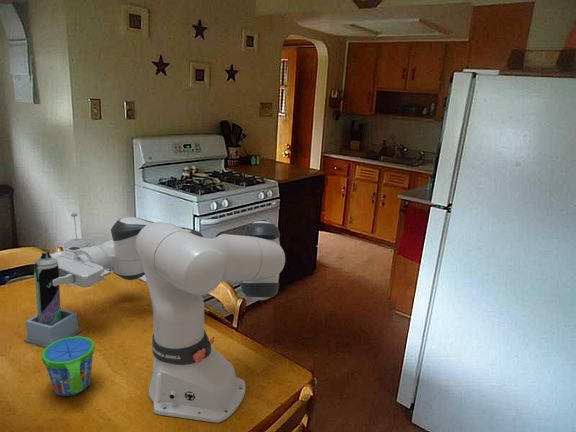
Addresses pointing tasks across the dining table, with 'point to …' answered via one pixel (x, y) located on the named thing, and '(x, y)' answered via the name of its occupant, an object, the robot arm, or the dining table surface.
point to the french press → (76, 243)
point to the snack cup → (69, 364)
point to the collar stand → (52, 329)
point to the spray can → (47, 290)
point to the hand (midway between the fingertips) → (43, 279)
